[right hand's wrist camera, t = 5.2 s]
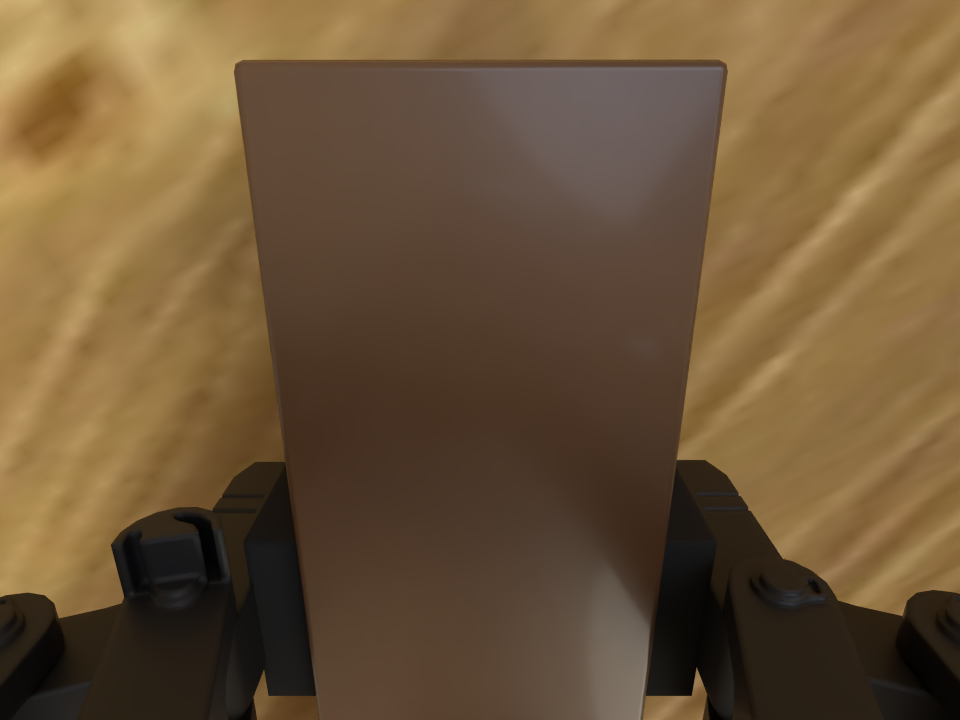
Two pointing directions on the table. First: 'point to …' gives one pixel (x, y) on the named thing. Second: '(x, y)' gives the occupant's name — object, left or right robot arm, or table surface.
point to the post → (480, 366)
